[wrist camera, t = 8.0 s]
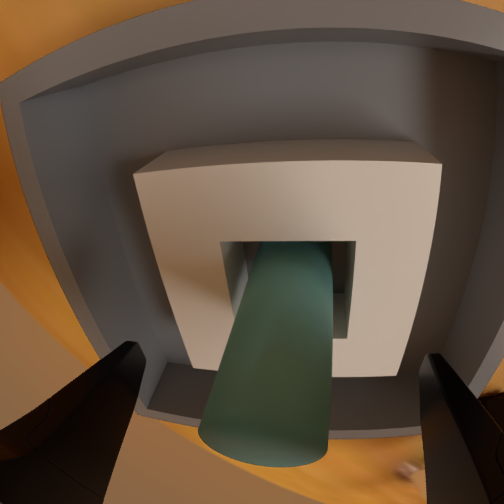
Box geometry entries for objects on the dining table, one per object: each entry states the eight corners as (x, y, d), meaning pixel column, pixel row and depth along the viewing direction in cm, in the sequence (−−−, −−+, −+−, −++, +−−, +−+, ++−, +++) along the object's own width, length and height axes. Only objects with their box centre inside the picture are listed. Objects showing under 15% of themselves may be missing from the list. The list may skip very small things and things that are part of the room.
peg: (330, 280, 15) (322, 470, 7) (263, 278, 15) (212, 458, 8) (332, 217, 13) (333, 421, 6) (256, 218, 14) (182, 406, 6)
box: (441, 368, 18) (454, 429, 14) (162, 360, 22) (137, 414, 18) (504, 40, 8) (575, 43, 4) (73, 68, 12) (-3, 84, 8)
